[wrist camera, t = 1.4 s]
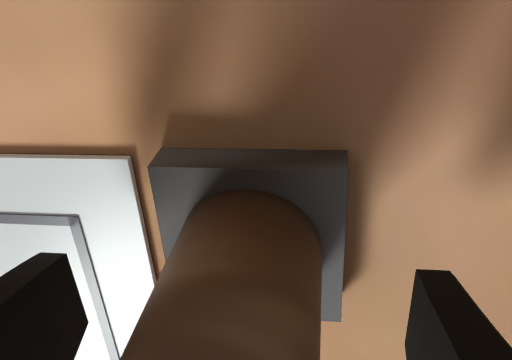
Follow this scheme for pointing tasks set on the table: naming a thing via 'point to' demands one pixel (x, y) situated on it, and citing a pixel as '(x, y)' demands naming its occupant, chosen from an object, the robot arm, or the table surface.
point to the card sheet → (82, 236)
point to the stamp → (244, 254)
